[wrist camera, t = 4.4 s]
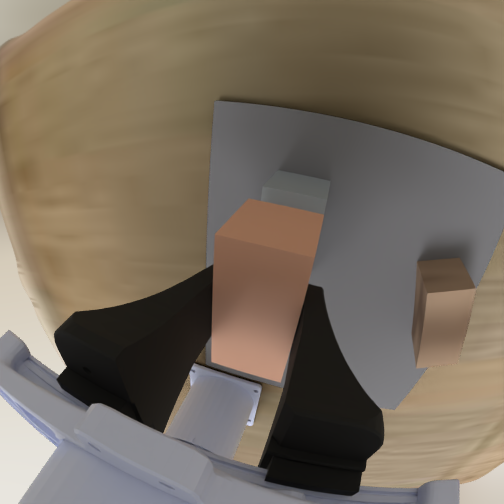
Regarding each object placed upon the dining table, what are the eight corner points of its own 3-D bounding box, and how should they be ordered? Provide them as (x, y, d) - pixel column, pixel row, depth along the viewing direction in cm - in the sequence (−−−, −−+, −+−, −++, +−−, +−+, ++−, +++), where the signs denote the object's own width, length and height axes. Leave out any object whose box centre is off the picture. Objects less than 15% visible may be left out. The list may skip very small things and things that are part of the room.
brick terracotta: (296, 328, 15) (280, 382, 12) (237, 313, 16) (211, 361, 13) (323, 214, 12) (314, 257, 9) (248, 198, 13) (214, 234, 10)
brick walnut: (448, 329, 19) (457, 363, 16) (411, 333, 20) (416, 368, 17) (459, 257, 16) (476, 288, 13) (416, 261, 18) (427, 293, 15)
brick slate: (310, 271, 20) (302, 303, 17) (265, 260, 21) (249, 290, 18) (330, 181, 17) (327, 199, 14) (278, 170, 18) (262, 186, 15)
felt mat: (394, 406, 25) (394, 409, 25) (207, 361, 29) (205, 364, 29) (516, 177, 13) (519, 179, 13) (217, 100, 17) (214, 100, 17)
